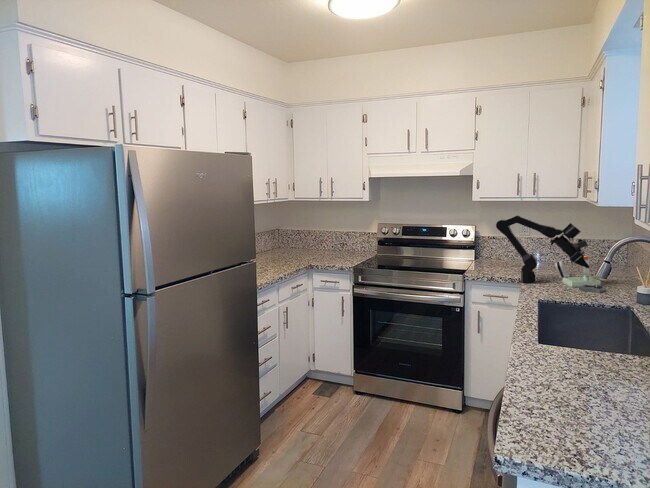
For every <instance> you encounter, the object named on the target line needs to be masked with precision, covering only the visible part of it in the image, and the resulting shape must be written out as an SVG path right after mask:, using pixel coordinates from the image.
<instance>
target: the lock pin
mask: <svg viewBox="0 0 650 488" xmlns="http://www.w3.org/2000/svg"><path fill="white" fill-rule="evenodd" d="M583 259H584V260H585V261H586V262H587V264H588V265H589V266H590V259H591V255H584V254H583ZM582 277H583V281H589V277H590V267H589V268H586V267H583V266H582Z"/></svg>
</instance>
